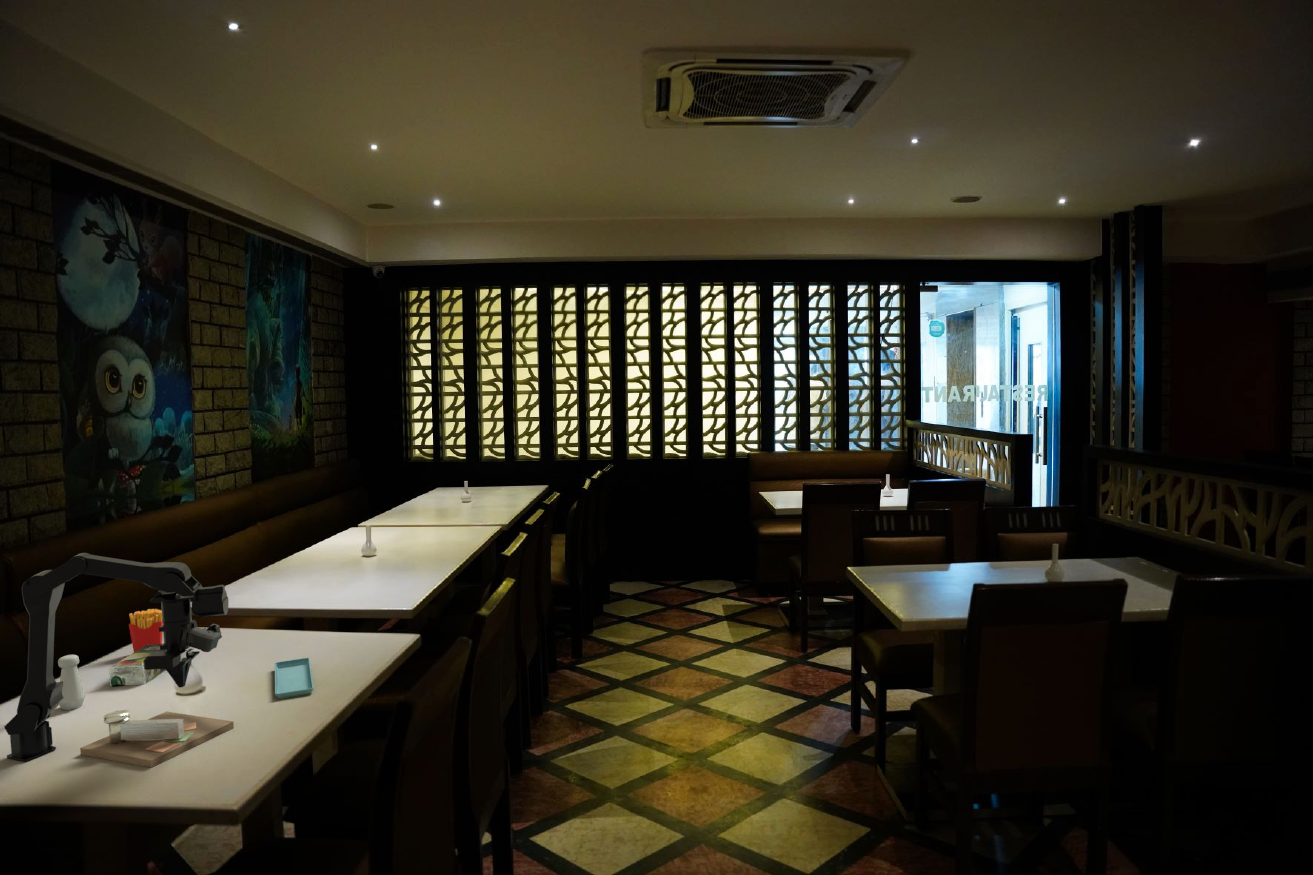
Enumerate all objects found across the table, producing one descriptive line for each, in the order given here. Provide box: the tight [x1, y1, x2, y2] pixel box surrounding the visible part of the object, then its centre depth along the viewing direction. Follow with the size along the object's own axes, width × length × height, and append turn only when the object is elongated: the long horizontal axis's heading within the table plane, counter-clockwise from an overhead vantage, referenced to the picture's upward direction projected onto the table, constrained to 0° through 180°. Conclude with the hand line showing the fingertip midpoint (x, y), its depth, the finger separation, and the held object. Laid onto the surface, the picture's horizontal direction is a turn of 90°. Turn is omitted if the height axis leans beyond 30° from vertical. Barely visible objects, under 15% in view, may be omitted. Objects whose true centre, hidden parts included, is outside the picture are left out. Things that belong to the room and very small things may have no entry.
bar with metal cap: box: [103, 709, 184, 743], centre depth 184 cm, size 16×5×6 cm, turn 90°
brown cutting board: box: [79, 711, 235, 768], centre depth 187 cm, size 21×21×2 cm
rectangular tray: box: [274, 657, 315, 700], centre depth 224 cm, size 26×9×2 cm, turn 25°
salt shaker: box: [57, 654, 86, 711], centre depth 209 cm, size 6×6×13 cm
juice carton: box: [108, 643, 166, 687], centre depth 233 cm, size 20×10×6 cm, turn 5°
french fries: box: [128, 608, 163, 653], centre depth 252 cm, size 9×4×13 cm, turn 105°
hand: (181, 686), depth 190 cm, fingers closed
